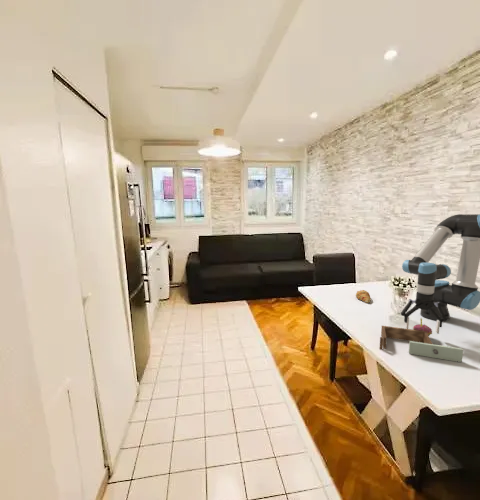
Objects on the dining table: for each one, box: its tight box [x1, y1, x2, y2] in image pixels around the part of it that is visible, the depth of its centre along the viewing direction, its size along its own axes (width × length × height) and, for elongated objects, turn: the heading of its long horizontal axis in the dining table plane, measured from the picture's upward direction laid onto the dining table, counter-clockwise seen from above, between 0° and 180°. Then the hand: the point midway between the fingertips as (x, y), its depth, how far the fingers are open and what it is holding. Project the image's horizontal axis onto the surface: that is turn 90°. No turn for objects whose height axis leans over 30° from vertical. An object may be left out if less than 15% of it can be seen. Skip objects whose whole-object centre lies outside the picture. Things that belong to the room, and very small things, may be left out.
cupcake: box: [412, 318, 433, 337], centre depth 143 cm, size 9×8×12 cm
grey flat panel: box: [408, 341, 464, 363], centre depth 124 cm, size 20×3×6 cm, turn 66°
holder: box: [379, 325, 433, 350], centre depth 136 cm, size 22×16×6 cm
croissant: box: [355, 289, 371, 304], centre depth 205 cm, size 21×10×8 cm, turn 176°
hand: (421, 330), depth 143 cm, fingers open, 13 cm apart
